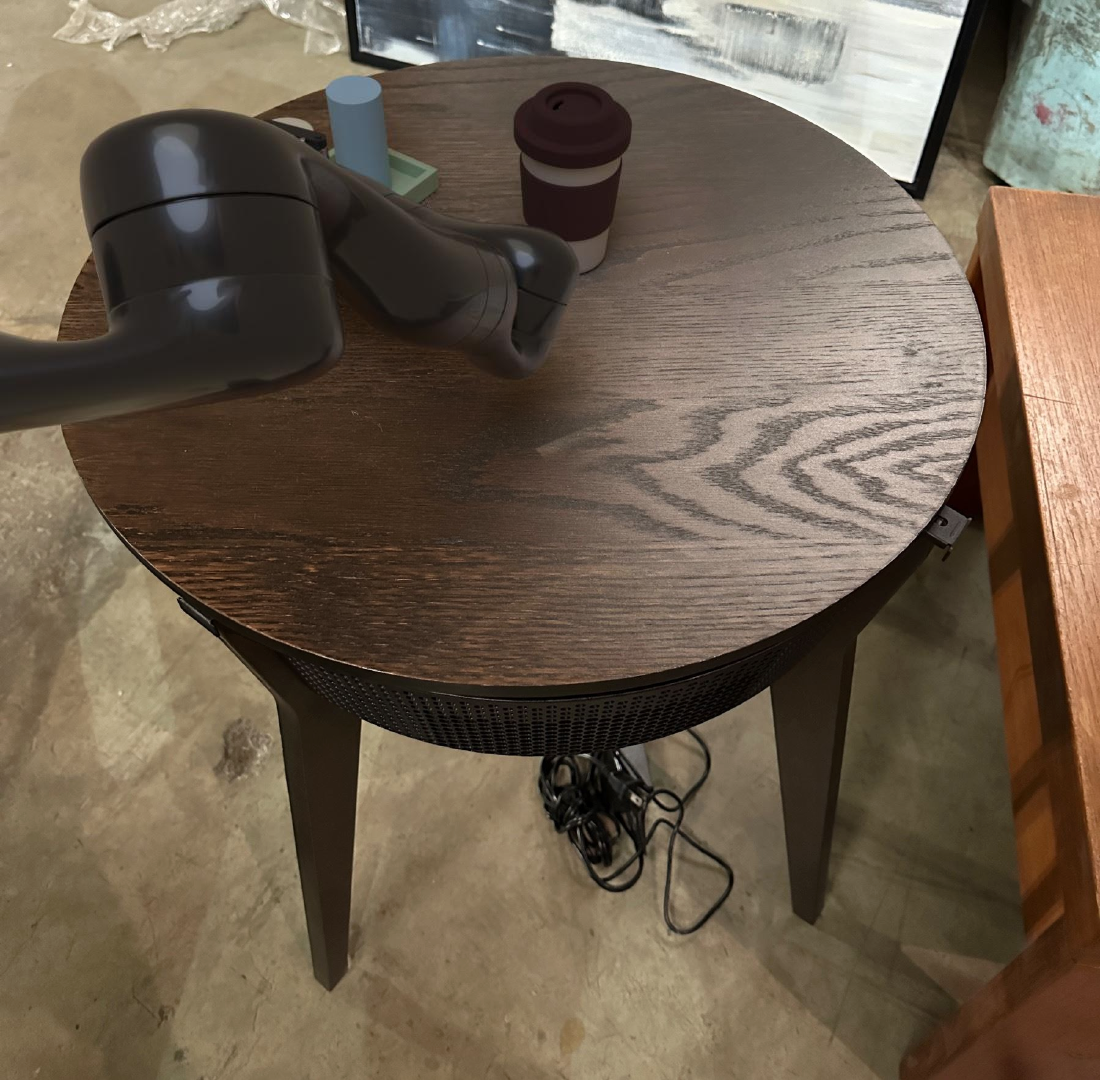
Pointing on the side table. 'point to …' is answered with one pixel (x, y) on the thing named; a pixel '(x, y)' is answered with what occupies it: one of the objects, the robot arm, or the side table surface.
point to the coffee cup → (572, 164)
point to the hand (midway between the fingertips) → (178, 145)
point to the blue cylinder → (359, 126)
